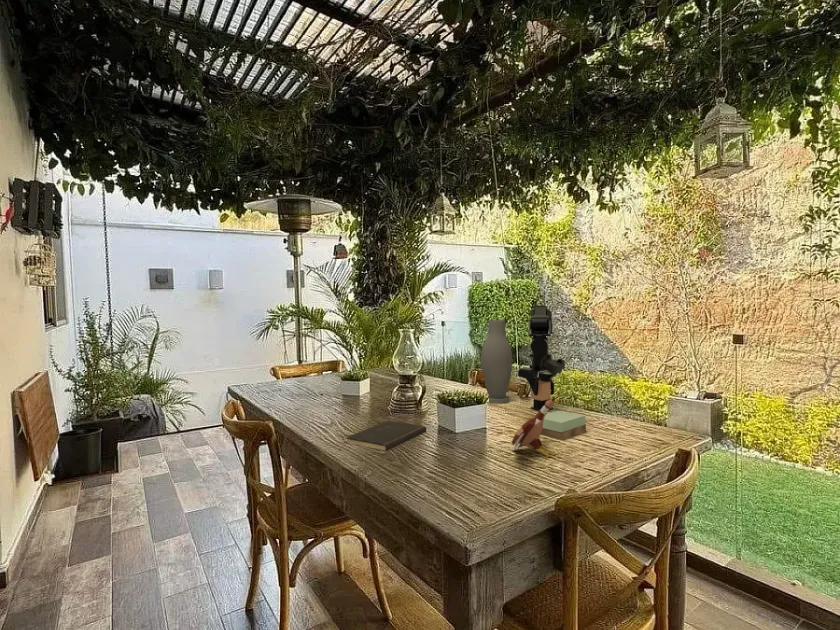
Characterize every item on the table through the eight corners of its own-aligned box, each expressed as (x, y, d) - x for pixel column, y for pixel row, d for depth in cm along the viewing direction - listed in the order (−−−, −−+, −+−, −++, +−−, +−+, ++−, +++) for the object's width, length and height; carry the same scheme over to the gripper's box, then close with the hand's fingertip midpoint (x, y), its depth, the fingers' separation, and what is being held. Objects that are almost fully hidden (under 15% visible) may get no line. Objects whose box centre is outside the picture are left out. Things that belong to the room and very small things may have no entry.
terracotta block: (539, 396, 172) (539, 380, 172) (550, 398, 168) (550, 382, 168) (530, 398, 169) (530, 382, 169) (542, 400, 165) (541, 383, 165)
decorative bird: (566, 464, 115) (542, 406, 117) (501, 480, 124) (480, 426, 126) (586, 433, 140) (566, 386, 142) (531, 449, 148) (513, 404, 151)
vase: (481, 404, 196) (479, 321, 195) (482, 397, 209) (480, 319, 208) (513, 404, 194) (511, 320, 193) (512, 397, 207) (510, 319, 206)
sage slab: (559, 419, 161) (559, 410, 161) (585, 424, 153) (585, 415, 153) (535, 426, 153) (535, 417, 153) (561, 432, 145) (561, 422, 145)
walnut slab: (559, 427, 161) (559, 419, 161) (586, 433, 153) (585, 424, 153) (536, 435, 153) (536, 426, 153) (562, 442, 145) (562, 432, 145)
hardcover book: (345, 444, 147) (345, 437, 147) (388, 426, 167) (388, 420, 167) (386, 452, 139) (386, 445, 139) (426, 433, 158) (426, 426, 158)
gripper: (542, 355, 156) (543, 401, 157) (574, 350, 168) (575, 393, 168) (516, 353, 165) (517, 396, 165) (548, 348, 176) (549, 389, 177)
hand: (540, 394), depth 169 cm, fingers closed on terracotta block, 5 cm apart
